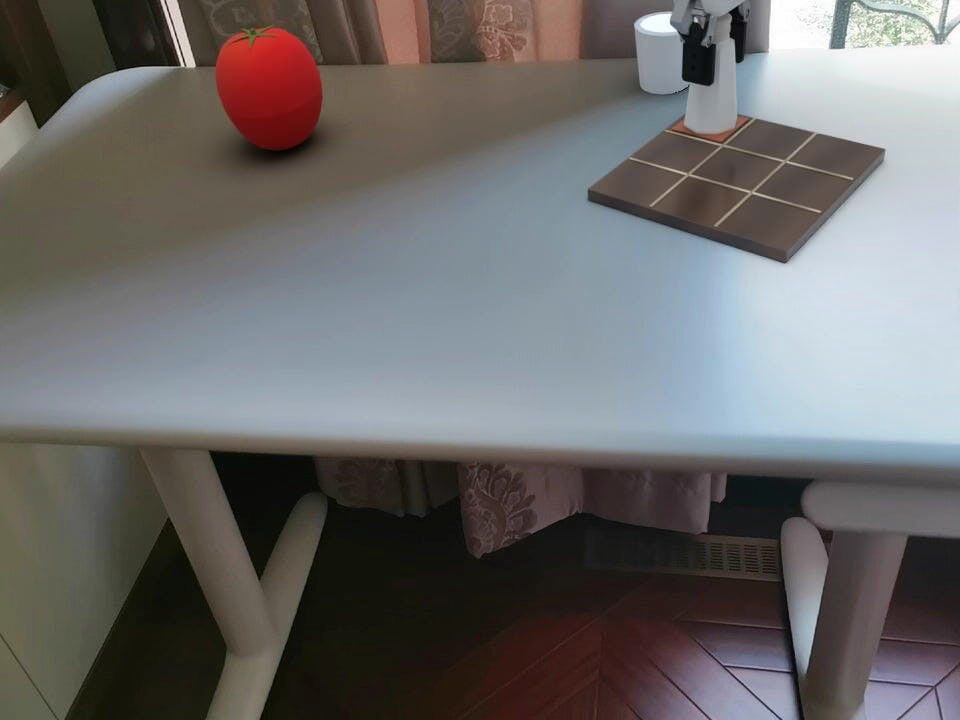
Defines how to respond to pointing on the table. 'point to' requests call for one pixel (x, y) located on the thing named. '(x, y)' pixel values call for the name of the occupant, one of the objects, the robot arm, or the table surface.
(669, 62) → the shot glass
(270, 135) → the tomato
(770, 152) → the board
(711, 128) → the pepper shaker
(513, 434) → the table surface
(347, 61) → the table surface
